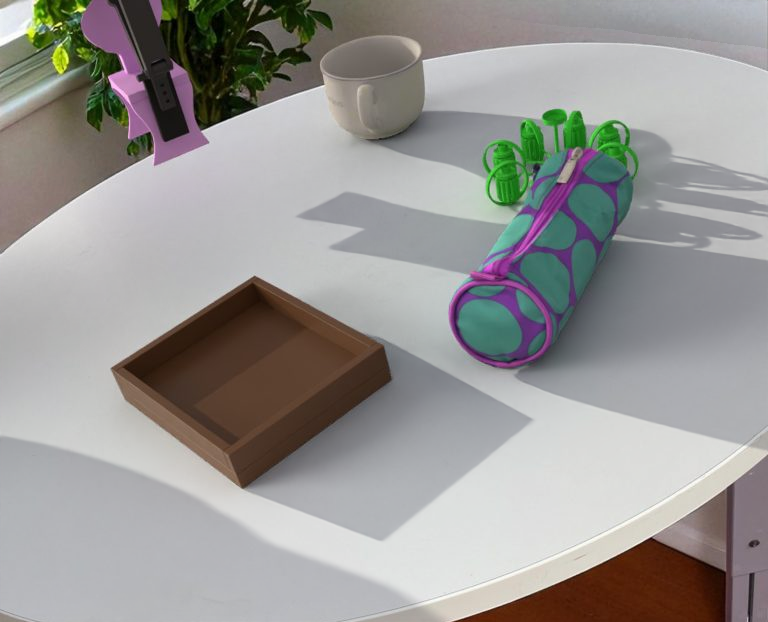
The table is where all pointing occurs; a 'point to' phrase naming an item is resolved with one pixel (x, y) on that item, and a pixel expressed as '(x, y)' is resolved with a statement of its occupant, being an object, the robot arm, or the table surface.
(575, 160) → the pencil case
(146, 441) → the table surface
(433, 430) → the table surface
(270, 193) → the table surface
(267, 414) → the brown wooden tray
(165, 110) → the robot arm
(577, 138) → the chandelier
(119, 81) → the toy chair
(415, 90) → the teacup
